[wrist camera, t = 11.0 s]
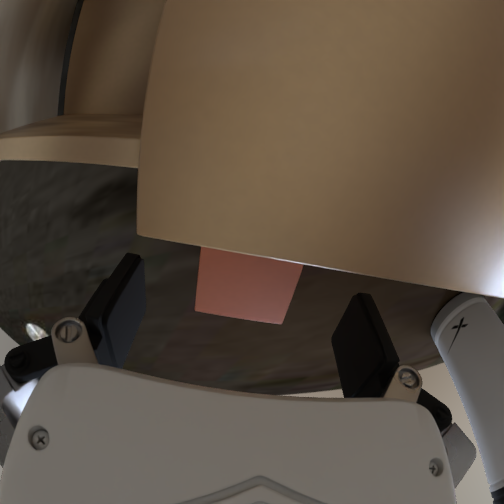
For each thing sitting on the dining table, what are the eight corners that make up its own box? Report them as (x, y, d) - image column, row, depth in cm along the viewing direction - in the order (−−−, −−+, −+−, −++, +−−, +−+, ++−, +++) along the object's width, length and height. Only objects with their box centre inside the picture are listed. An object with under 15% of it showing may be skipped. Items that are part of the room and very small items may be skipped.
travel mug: (428, 306, 19) (512, 526, 2) (486, 279, 18) (584, 462, 1) (424, 348, 22) (480, 528, 5) (475, 324, 21) (544, 483, 4)
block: (207, 261, 17) (194, 311, 13) (216, 194, 15) (202, 232, 11) (277, 273, 17) (281, 324, 14) (296, 209, 15) (308, 251, 11)
